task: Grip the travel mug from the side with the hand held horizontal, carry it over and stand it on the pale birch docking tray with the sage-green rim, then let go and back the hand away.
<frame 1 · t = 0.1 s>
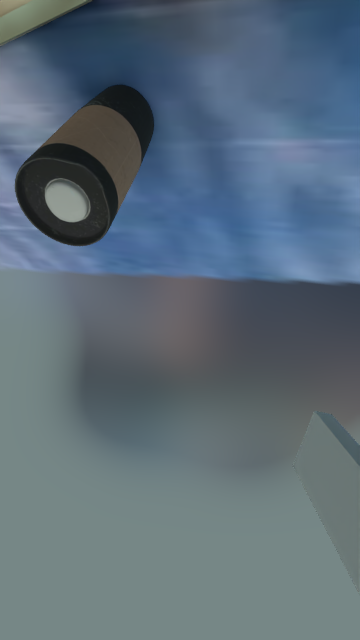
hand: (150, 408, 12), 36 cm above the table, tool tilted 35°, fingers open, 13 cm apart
travel mug: (125, 120, 36), on the table
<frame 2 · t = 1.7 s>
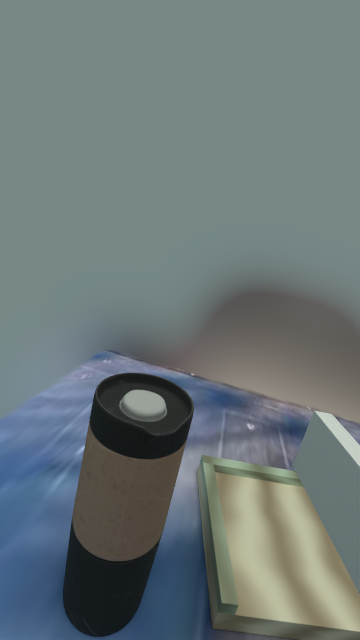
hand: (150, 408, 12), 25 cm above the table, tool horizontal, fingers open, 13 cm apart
travel mug: (103, 588, 28), on the table
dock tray: (275, 542, 36), on the table
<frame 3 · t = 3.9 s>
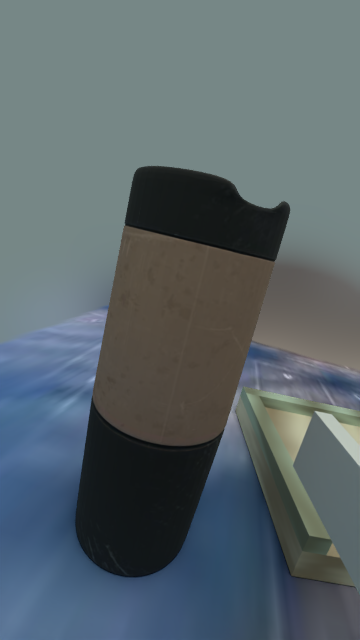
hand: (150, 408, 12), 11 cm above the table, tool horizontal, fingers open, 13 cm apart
travel mug: (132, 519, 19), on the table
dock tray: (348, 484, 27), on the table
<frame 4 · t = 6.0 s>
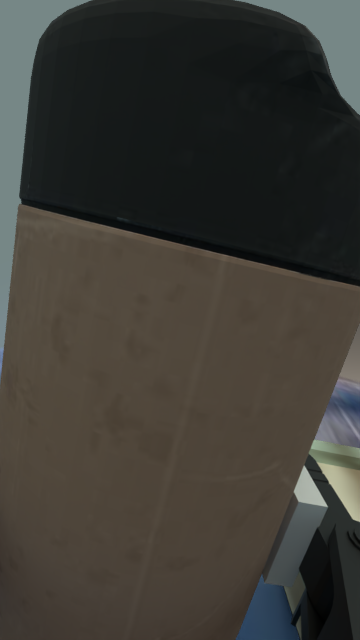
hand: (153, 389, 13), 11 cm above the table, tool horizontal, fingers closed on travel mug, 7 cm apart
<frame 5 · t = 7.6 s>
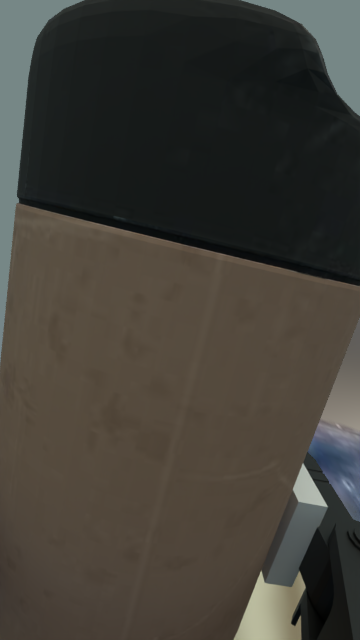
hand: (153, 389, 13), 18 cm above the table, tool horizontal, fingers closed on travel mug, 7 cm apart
when the fingers open (14 cm above the table, at t = 9.6 s): travel mug drops 1 cm, resting on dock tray.
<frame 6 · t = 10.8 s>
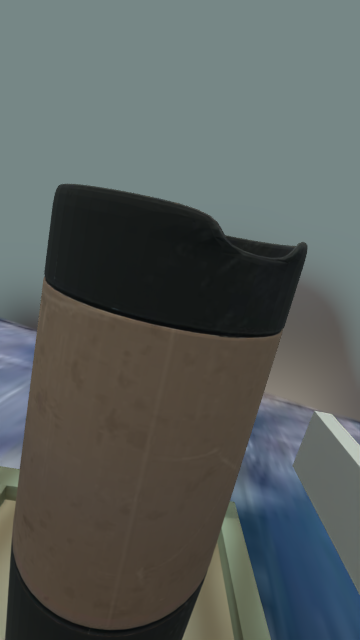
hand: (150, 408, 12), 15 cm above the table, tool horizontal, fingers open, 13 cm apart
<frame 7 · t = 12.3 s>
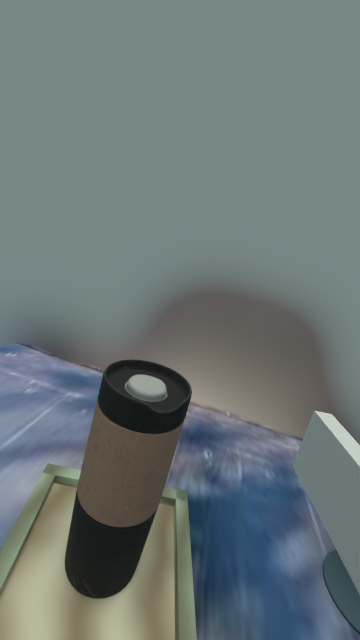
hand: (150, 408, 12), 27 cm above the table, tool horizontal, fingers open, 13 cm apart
travel mug: (101, 559, 30), point 2 cm above the table, touching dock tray
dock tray: (97, 572, 30), on the table
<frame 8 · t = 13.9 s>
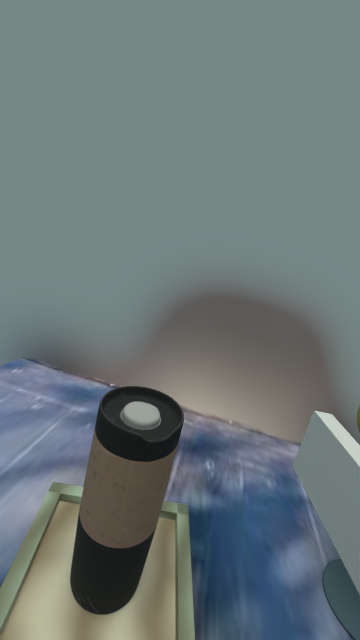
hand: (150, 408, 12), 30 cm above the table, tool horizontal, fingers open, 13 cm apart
travel mug: (105, 575, 31), point 2 cm above the table, touching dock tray
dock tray: (102, 587, 32), on the table
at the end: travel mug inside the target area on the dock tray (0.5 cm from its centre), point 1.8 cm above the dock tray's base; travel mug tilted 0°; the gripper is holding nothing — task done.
